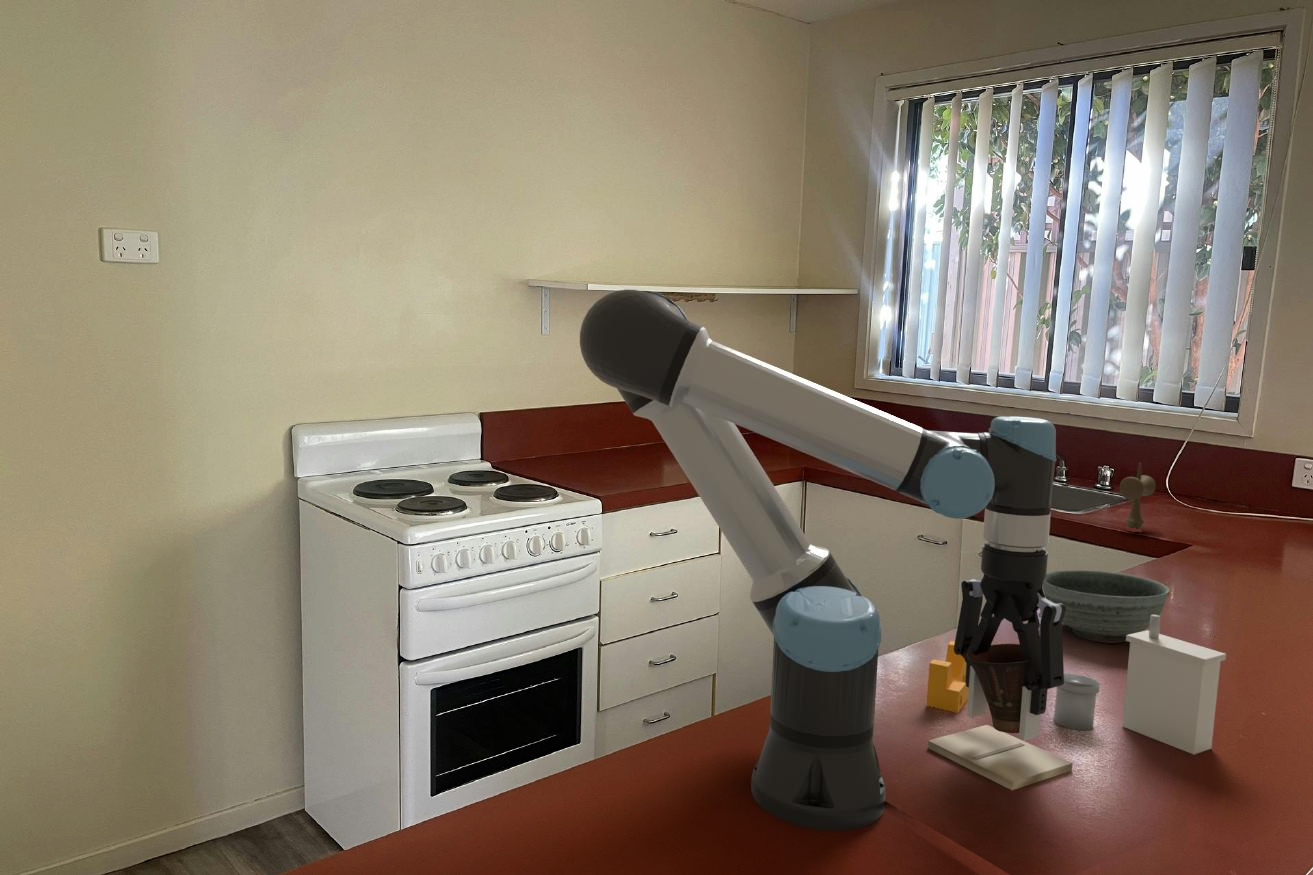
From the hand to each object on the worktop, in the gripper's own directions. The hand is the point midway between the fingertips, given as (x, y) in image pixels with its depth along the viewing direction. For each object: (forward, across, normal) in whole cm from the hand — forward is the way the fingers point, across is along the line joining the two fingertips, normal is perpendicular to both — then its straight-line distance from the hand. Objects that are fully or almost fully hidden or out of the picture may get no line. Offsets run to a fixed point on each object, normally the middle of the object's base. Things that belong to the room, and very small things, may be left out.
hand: (1002, 725), depth 126 cm
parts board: (+4, 0, 0) cm, 4 cm away
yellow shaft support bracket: (+5, +18, -11) cm, 22 cm away
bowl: (+5, +26, -58) cm, 64 cm away
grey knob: (+4, +3, -19) cm, 20 cm away
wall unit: (+4, -6, -26) cm, 27 cm away
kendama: (+5, +74, -142) cm, 160 cm away
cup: (0, 0, 0) cm, 0 cm away
